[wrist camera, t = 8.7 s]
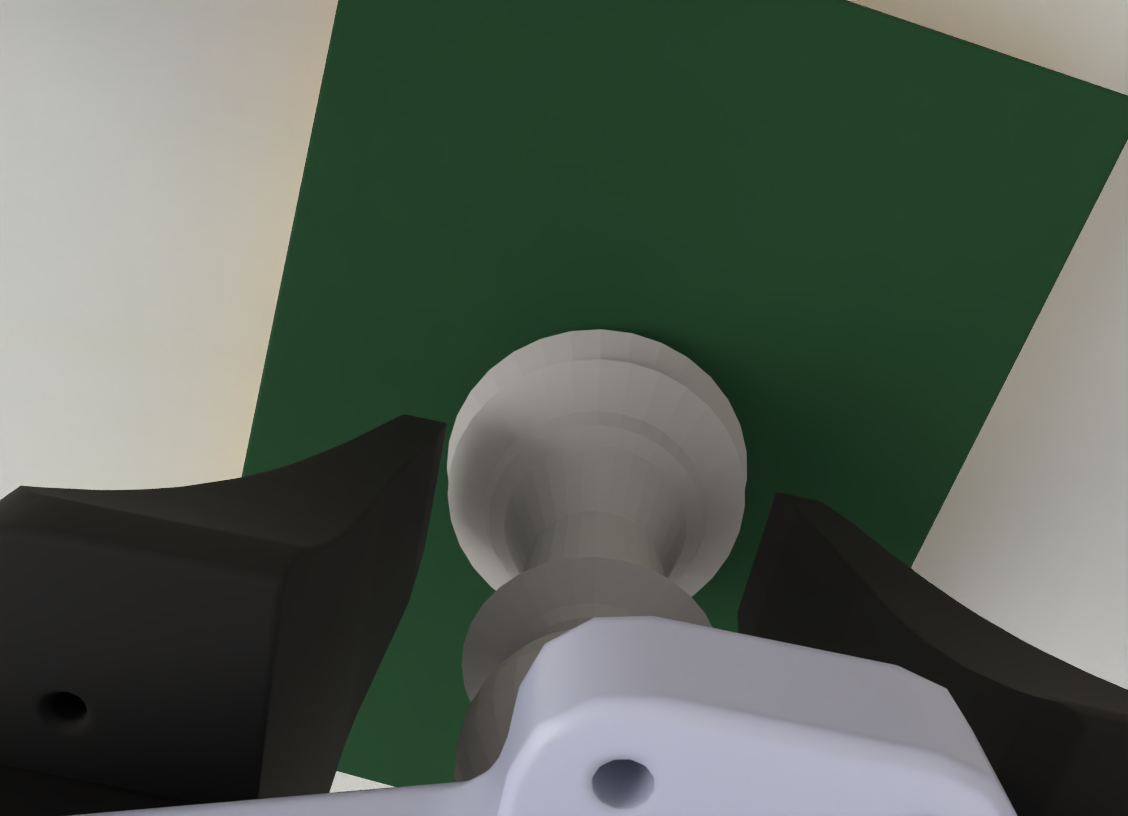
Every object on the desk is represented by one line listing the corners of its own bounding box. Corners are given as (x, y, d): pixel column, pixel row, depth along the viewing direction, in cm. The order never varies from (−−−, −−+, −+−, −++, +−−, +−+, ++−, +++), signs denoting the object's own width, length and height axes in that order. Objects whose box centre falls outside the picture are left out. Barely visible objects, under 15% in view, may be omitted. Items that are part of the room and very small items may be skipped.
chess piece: (781, 543, 16) (936, 994, 8) (515, 625, 17) (442, 1105, 9) (689, 279, 14) (779, 541, 7) (402, 383, 15) (202, 721, 8)
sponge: (235, 655, 20) (188, 732, 18) (406, -132, 15) (370, -162, 12) (736, 793, 21) (751, 885, 18) (1070, 92, 15) (1148, 102, 13)
